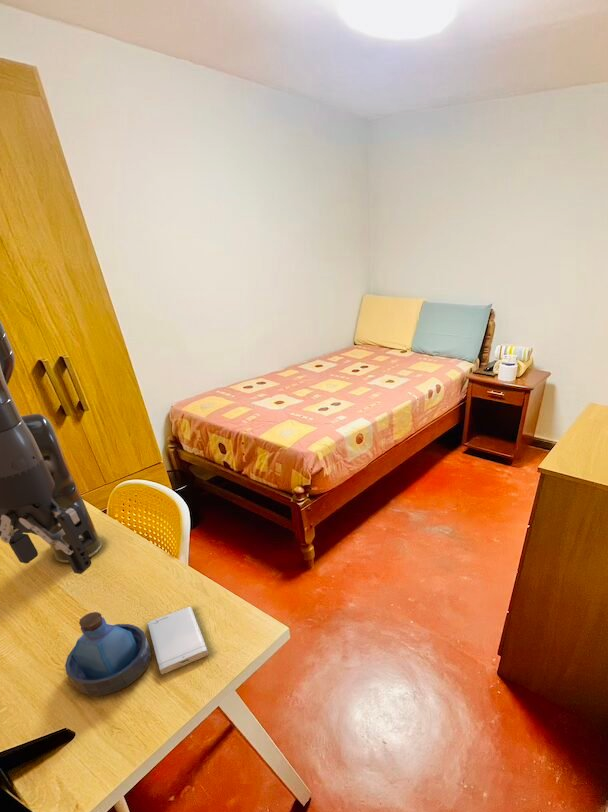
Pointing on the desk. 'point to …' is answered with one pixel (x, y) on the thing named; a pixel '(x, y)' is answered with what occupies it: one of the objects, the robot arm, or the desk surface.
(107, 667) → the perfume bottle
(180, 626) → the hard drive
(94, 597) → the desk surface
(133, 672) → the bowl
